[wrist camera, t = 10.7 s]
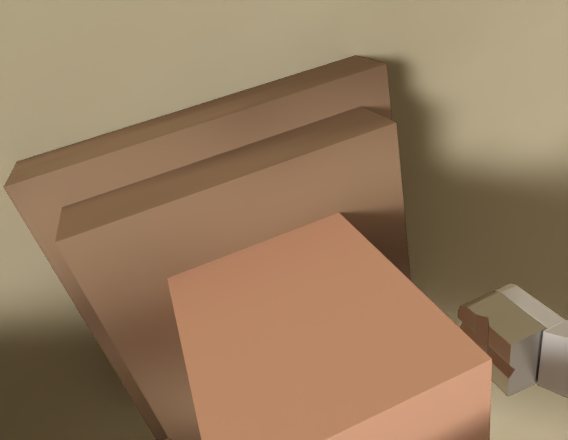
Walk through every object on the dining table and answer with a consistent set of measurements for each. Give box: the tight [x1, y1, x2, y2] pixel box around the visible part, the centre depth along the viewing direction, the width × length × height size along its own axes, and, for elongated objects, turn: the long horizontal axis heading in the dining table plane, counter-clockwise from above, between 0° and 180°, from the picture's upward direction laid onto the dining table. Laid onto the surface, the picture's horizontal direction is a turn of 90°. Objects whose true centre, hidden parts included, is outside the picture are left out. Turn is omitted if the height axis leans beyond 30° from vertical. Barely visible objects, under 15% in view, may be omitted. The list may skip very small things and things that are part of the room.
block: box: [167, 213, 492, 440], centre depth 11 cm, size 5×5×6 cm
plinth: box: [4, 56, 411, 440], centre depth 15 cm, size 11×11×4 cm
